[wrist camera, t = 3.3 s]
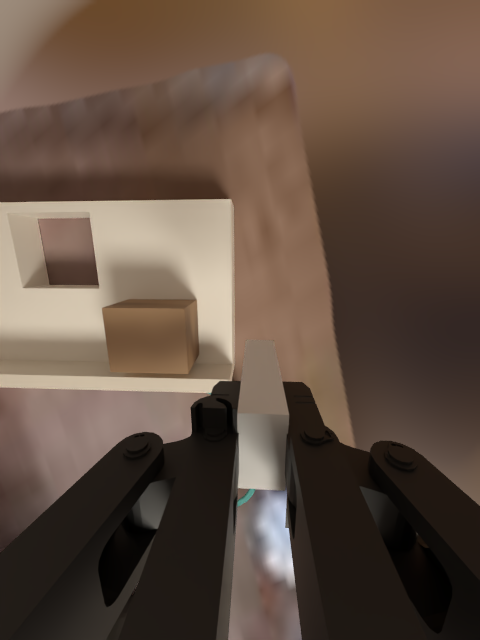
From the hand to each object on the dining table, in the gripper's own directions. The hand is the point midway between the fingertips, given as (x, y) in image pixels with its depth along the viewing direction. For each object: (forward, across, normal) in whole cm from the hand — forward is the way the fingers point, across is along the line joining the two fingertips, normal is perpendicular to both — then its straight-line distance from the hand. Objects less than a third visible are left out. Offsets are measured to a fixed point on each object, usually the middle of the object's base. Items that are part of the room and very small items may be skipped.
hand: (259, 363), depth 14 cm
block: (+8, +8, 0) cm, 12 cm away
